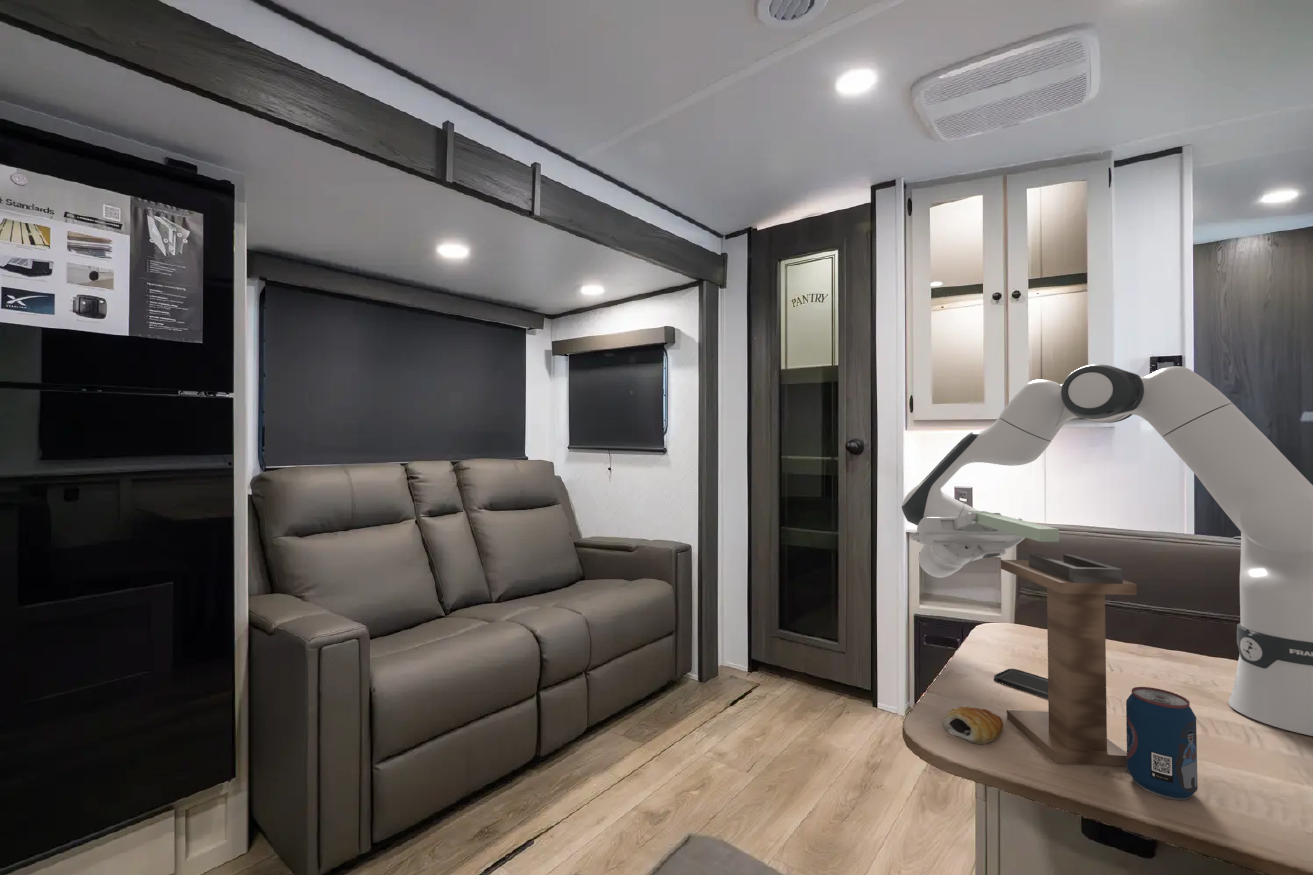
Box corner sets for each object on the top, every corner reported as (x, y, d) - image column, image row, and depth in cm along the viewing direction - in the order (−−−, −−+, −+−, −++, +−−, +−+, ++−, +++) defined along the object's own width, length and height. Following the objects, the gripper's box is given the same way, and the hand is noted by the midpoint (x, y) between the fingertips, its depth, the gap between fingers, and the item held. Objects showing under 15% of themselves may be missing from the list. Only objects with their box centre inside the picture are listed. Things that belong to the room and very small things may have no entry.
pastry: (974, 716, 94) (974, 693, 94) (1016, 735, 88) (1016, 710, 88) (939, 730, 89) (939, 706, 89) (980, 750, 83) (980, 725, 83)
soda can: (1127, 765, 79) (1126, 680, 79) (1195, 785, 74) (1194, 694, 75) (1126, 788, 74) (1125, 696, 74) (1199, 810, 69) (1198, 713, 69)
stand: (1065, 717, 93) (1063, 548, 94) (1139, 772, 77) (1136, 569, 78) (1002, 714, 94) (1000, 547, 94) (1062, 769, 78) (1060, 568, 78)
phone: (1011, 667, 112) (1101, 695, 100) (1011, 673, 112) (1102, 701, 100) (991, 676, 108) (1083, 706, 95) (991, 682, 108) (1083, 713, 95)
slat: (984, 521, 113) (984, 511, 113) (1059, 541, 89) (1059, 529, 89) (968, 520, 113) (968, 511, 113) (1039, 541, 89) (1039, 528, 89)
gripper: (906, 526, 124) (927, 500, 112) (1003, 528, 122) (1034, 501, 110) (911, 554, 120) (933, 530, 109) (1011, 556, 119) (1044, 532, 107)
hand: (985, 516), depth 109 cm, fingers closed on slat, 3 cm apart
